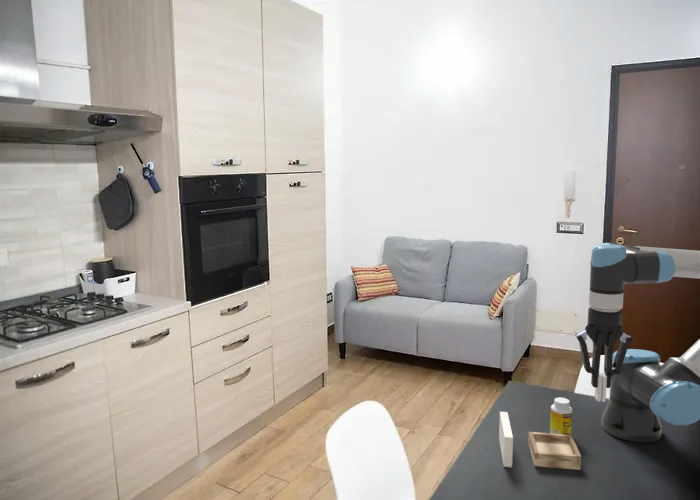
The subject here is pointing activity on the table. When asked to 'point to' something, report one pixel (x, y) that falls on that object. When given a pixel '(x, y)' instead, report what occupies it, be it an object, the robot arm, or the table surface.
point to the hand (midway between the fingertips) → (599, 399)
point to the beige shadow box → (554, 450)
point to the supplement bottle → (561, 417)
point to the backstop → (505, 439)
